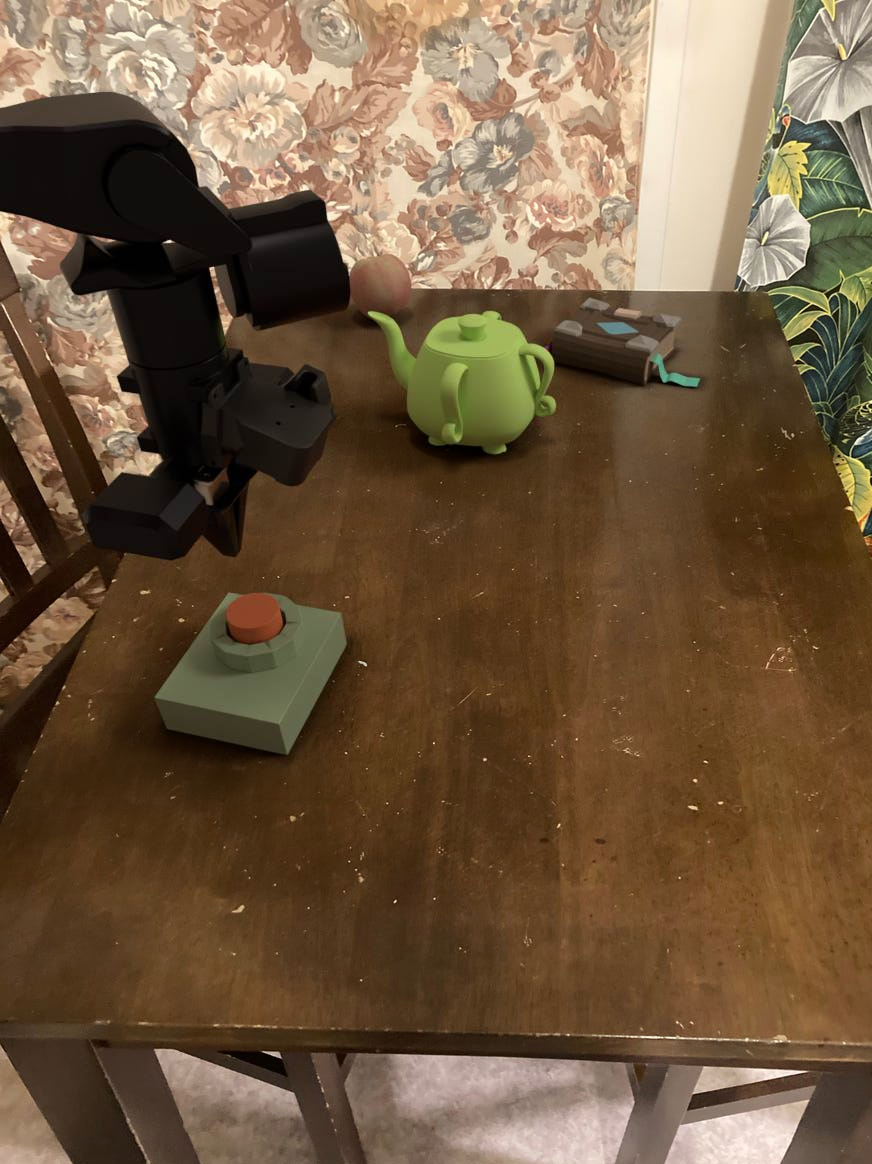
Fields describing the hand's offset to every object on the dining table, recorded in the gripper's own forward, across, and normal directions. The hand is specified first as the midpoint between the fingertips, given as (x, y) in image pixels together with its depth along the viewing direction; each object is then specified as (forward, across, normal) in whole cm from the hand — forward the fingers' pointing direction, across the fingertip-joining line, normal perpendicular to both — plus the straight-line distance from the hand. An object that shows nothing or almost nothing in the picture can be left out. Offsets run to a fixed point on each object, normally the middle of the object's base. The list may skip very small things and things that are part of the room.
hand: (232, 553), depth 63 cm
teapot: (+12, +39, -6) cm, 42 cm away
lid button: (+7, 0, 0) cm, 7 cm away
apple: (+12, +63, +12) cm, 65 cm away
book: (+12, +60, -20) cm, 64 cm away
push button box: (+12, -1, 0) cm, 12 cm away
